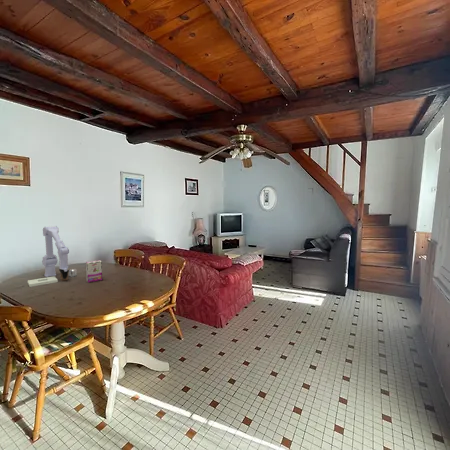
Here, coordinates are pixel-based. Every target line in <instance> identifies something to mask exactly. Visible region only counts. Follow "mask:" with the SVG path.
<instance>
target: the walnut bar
mask: <svg viewBox="0 0 450 450" xmlns="http://www.w3.org/2000/svg"><path fill="white" fill-rule="evenodd" d="M59 277H60V278H59V279H60V282H65V281H69V273H68V274H67V278H66V279H63V276H62V273H59Z"/></svg>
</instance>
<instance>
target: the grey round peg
mask: <svg viewBox="0 0 450 450" xmlns="http://www.w3.org/2000/svg"><path fill="white" fill-rule="evenodd" d="M68 270H69V272H68V278H75V277H77V275H78V272H77V271H78V270H77V268H70V269H68Z"/></svg>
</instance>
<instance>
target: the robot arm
mask: <svg viewBox="0 0 450 450" xmlns="http://www.w3.org/2000/svg"><path fill="white" fill-rule="evenodd" d="M59 232H60V231H59V227H58V226H57V225H54V226H52V225H51V226H44V227H43V229H42V235H43V237H45V239H44V240H45V251H46V252H45V253H46V254H45V255H44V256H43V257H42V261H41V262H42V266H44V271H45V273H43V274H44V275H43V276H44V278H47V277H53V276H55V277H56V276H57V273H56V265H57V263H58V260H59V269H58V271H59V272H60V273H62V276H63V279H66V278H67V274H68V275H69V270H70V269H69V268H70V266H69V263H68V261H69V259H68V256H69V255H68V254H69V253H70V249H69V247H68V246H66V244H65V243H64V241H63V240H61V238H60V235H59ZM53 240H54V242H55V243H54V242H53ZM54 244H55V247H56V249H57V255H58V257H57V255H56V254H54V246H53V245H54ZM58 258H59V259H58ZM60 273H59V274H60Z"/></svg>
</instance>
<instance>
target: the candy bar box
mask: <svg viewBox="0 0 450 450" xmlns="http://www.w3.org/2000/svg"><path fill="white" fill-rule="evenodd" d="M85 264H86V265H85V267H86V268H85V269H86V270H85V272H86V274H85V275H86V282H87V283H93V282H99V281H103V262H102V260H100V259H99V260H93V261H86V262H85Z"/></svg>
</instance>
